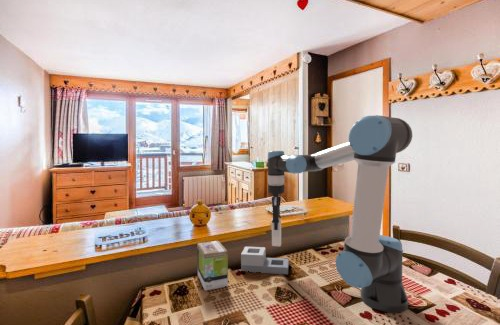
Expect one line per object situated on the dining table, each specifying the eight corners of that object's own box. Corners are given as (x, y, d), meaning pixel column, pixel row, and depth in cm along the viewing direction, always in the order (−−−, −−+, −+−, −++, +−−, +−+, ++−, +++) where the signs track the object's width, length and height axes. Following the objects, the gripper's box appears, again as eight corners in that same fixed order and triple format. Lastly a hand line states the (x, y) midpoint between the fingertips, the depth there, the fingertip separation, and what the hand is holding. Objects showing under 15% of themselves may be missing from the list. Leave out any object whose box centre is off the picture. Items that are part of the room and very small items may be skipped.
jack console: (287, 274, 117) (287, 256, 117) (241, 271, 121) (241, 254, 120) (288, 264, 127) (288, 248, 127) (245, 262, 130) (245, 246, 130)
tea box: (228, 286, 107) (228, 250, 107) (204, 291, 104) (203, 254, 103) (219, 271, 121) (218, 239, 121) (197, 275, 118) (196, 242, 117)
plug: (280, 246, 120) (280, 220, 120) (270, 245, 121) (269, 219, 121) (281, 243, 124) (281, 218, 124) (270, 242, 125) (270, 217, 124)
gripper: (283, 187, 112) (283, 241, 113) (285, 182, 129) (285, 229, 130) (265, 186, 114) (266, 240, 115) (269, 182, 130) (270, 229, 131)
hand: (276, 234), depth 122 cm, fingers closed on plug, 4 cm apart
